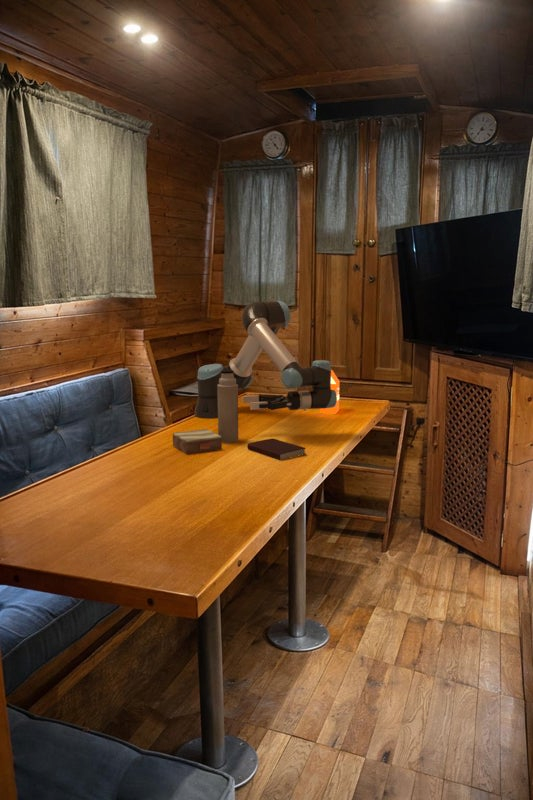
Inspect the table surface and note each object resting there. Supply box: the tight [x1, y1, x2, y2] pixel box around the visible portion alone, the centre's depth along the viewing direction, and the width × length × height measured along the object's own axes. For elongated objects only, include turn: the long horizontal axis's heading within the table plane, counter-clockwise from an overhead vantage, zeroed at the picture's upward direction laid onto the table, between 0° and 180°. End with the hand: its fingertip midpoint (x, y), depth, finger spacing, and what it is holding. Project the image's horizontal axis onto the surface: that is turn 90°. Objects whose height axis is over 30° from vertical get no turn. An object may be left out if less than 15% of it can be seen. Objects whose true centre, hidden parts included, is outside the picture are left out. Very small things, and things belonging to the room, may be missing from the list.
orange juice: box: [319, 369, 340, 415], centre depth 309 cm, size 8×9×20 cm
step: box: [172, 428, 223, 455], centre depth 246 cm, size 15×14×5 cm
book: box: [246, 438, 306, 461], centre depth 240 cm, size 12×19×3 cm, turn 38°
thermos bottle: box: [217, 370, 239, 444], centre depth 254 cm, size 8×8×28 cm
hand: (246, 402), depth 256 cm, fingers open, 13 cm apart
